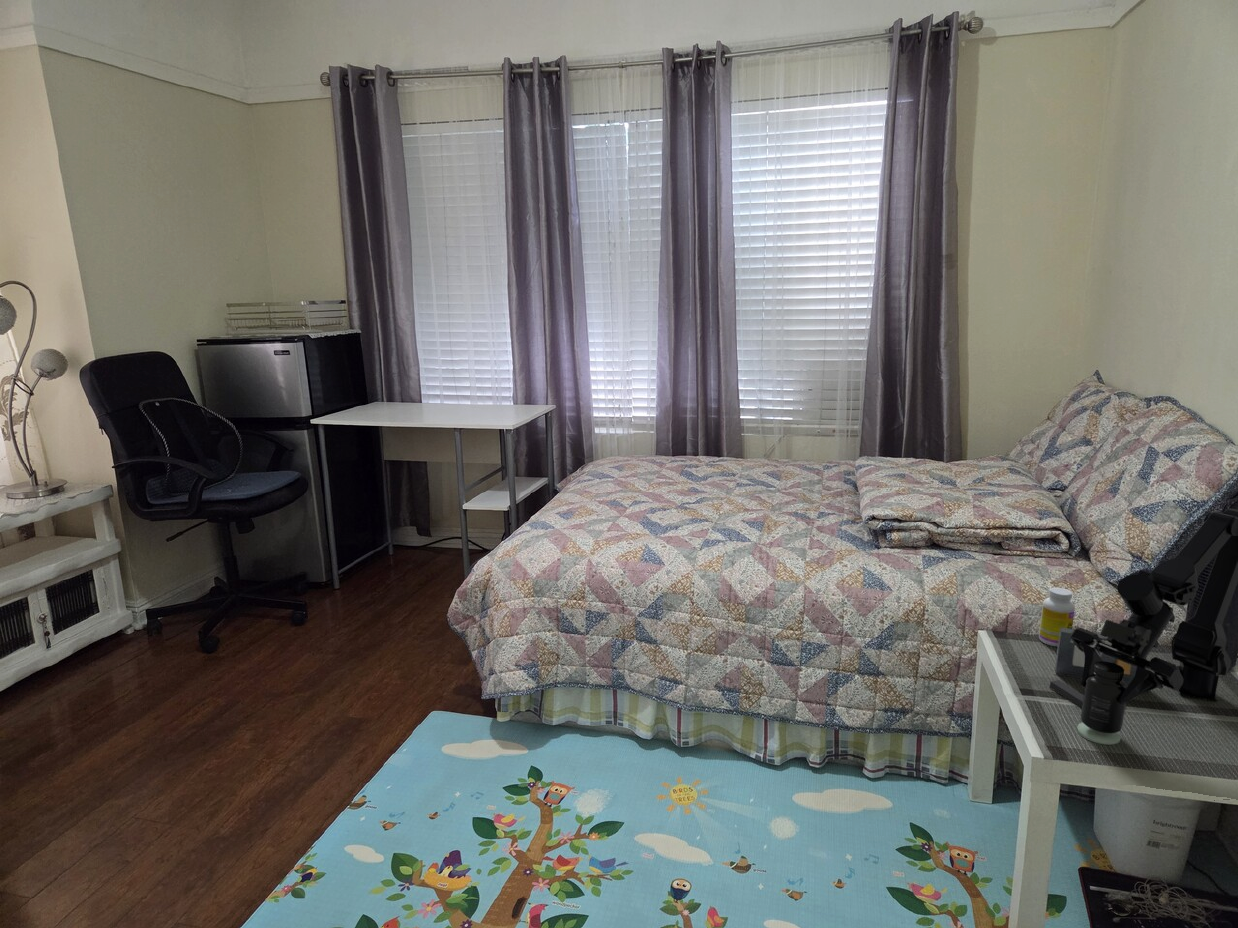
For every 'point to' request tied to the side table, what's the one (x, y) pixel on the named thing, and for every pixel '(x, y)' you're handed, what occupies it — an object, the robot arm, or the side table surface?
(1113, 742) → the pad
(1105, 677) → the supplement bottle
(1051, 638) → the supplement bottle
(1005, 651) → the side table surface
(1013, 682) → the side table surface
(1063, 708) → the side table surface
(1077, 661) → the paddle
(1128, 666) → the paddle main
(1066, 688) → the dark grey slat
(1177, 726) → the side table surface
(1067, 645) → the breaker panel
